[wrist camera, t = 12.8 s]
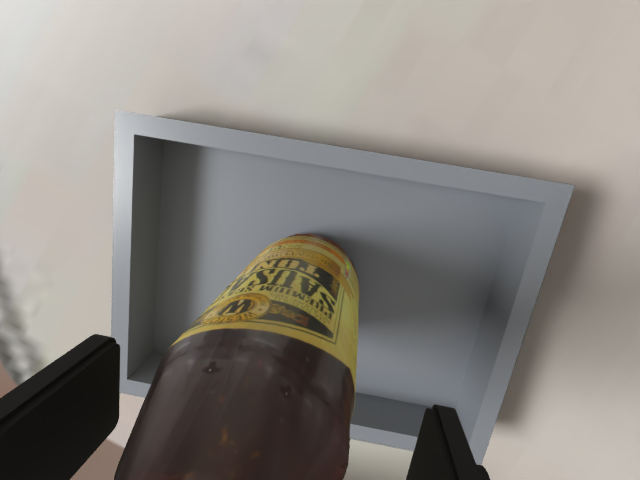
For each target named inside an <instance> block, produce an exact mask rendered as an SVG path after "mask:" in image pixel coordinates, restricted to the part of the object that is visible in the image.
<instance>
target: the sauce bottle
mask: <svg viewBox="0 0 640 480" xmlns="http://www.w3.org/2000/svg"><path fill="white" fill-rule="evenodd" d="M358 308H359V283H358V278H357V272H356V270H355V267H354V264H353V262H352V260H351V259H350V258H349V256H348V255H347V253H346V252H345V251H344V250H343V249H342V248H341V247H340V246H339V245H338V244H337V243H336V242H334V241H332V240H329V239H327V238H324V237H321V236H318V235H313V234H310V233H309V234H294V235H291V236H288V237H286V238H283V239H280V240H278V241H276V242H274V243H272V244H270V245H269V246H268V247H266V248H265V249H264V250H263V251H262V252H261V253H260V254H259V255H258V256H257V257H256V258H255V259H254V260H253V261H252V262H251V263H250V264H249V265H248V266H247V268H246V269H245V270H244V271H243V272H242V273H241V274H240V275H239V276H238V277H237V278H236V279H235V280H234V281H233V282H232V283H231V284H230V285H229V286H227V288H226V289H225V291H223V292H222V293H221V294H220V295H219V297H218V298H217V299H216V300H215V301H214V302H213V303H212V304H211V305H210V306H209V307H208V308H207V309H206V310H205V311H204V312H203V313H202V314H201V315H200V316H199V318H198V319H197V320H196V321H195V322H194V323H193V324H192V325H191V326H190V327H189V328H188V329H187V330H185V332H184V333H183V334H182V335H181V336H180V337H179V338H178V339H177V340H176V341H175V342H174V343H173V344H172V345H171V346H170V348H169V349H168V350H167V351H166V352H165V353H164V355H163V356H162V359H161V361H160V364H159V366H158V368H157V371H156V373H155V376H154V378H153V381H152V383H151V385H150V388H149V390H148V393H147V395H146V398H145V400H144V403H143V405H142V407H141V410H140V412H139V415H138V417H137V420H136V422H135V425H134V427H133V429H132V432H131V434H130V437H129V439H128V442H127V444H126V447H125V449H124V452H123V454H122V457H121V459H120V461H119V464H118V467H117V470H116V473H115V477H114V480H343V478H344V476H345V473H346V469H347V466H348V457H349V448H350V445H349V441H350V421H351V418H352V415H353V411H354V406H355V389H356V367H357V348H358Z"/></svg>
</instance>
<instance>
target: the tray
mask: <svg viewBox="0 0 640 480" xmlns="http://www.w3.org/2000/svg"><path fill="white" fill-rule="evenodd" d="M574 186H575V185H570V184H564V183H558V182H552V181H546V180H540V179H534V178H528V177H521V176H515V175H509V174H503V173H497V172H491V171H485V170H479V169H473V168H467V167H461V166H454V165H448V164H442V163H436V162H430V161H424V160H418V159H412V158H406V157H400V156H394V155H387V154H381V153H375V152H369V151H363V150H357V149H351V148H345V147H339V146H333V145H327V144H320V143H314V142H308V141H302V140H296V139H290V138H284V137H278V136H272V135H266V134H260V133H253V132H247V131H241V130H235V129H229V128H223V127H217V126H211V125H205V124H199V123H193V122H186V121H180V120H174V119H168V118H162V117H156V116H150V115H144V114H138V113H132V112H126V111H119V110H115V133H114V195H113V257H112V319H111V337H112V338H114V339H115V340H116V343H117V344H119V345H120V391H119V393H124V394H129V395H134V396H139V397H144V398H146V395H147V393H148V390H149V388H150V385H151V383H152V381H153V378H154V376H155V373H156V371H157V368H158V366H159V364H160V361H161V359H162V356H163V355H164V353H165V352H166V351H167V350H168V349H169V348H170V346H171V345H172V344H173V343H174V342H175V341H176V340H177V339H178V338H179V337H180V336H181V335H182V334H183V333H184V332H185V330H187V329H188V328H189V327H190V326H191V325H192V324H193V323H194V322H195V321H196V320H197V319H198V318H199V316H200V315H201V314H202V313H203V312H204V311H205V310H206V309H207V308H208V307H209V306H210V305H211V304H212V303H213V302H214V301H215V300H216V299H217V298H218V297H219V295H220V294H221V293H222V292H223V291H225V289H226V288H227V286H229V285H230V284H231V283H232V282H233V281H234V280H235V279H236V278H237V277H238V276H239V275H240V274H241V273H242V272H243V271H244V270H245V269H246V268H247V266H248V265H249V264H250V263H251V262H252V261H253V260H254V259H255V258H256V257H257V256H258V255H259V254H260V253H261V252H262V251H263V250H264V249H265V248H266V247H268V246H269V245H270V244H272V243H274V242H276V241H278V240H280V239H283V238H286V237H288V236H291V235H294V234H309V233H310V234H313V235H318V236H321V237H324V238H327V239H329V240H332V241H334V242H336V243H337V244H338V245H339V246H340V247H341V248H342V249H343V250H344V251H345V252H346V253H347V255H348V256H349V258H350V259H351V260H352V262H353V264H354V267H355V270H356V272H357V278H358V283H359V308H358V348H357V367H356V389H355V406H354V411H353V415H352V418H351V421H350V439H354V440H359V441H364V442H369V443H374V444H379V445H384V446H389V447H394V448H399V449H404V450H409V451H414V449H415V446H416V442H417V438H418V435H419V431H420V427H421V424H422V420H423V417H424V413H425V410H426V408H430V409H432V407H433V405H434V404H436V405H441V406H446V407H451V408H454V409H455V410H456V412H457V414H458V417H459V420H460V422H461V425H462V428H463V430H464V433H465V436H466V438H467V441H468V444H469V446H470V449H471V452H472V454H473V457H474V460H475V463H476V464H479V465H481V464H482V461H483V458H484V455H485V452H486V449H487V446H488V443H489V440H490V437H491V434H492V431H493V428H494V425H495V422H496V419H497V416H498V413H499V410H500V407H501V404H502V401H503V398H504V395H505V392H506V389H507V386H508V383H509V380H510V377H511V374H512V371H513V368H514V365H515V362H516V359H517V356H518V353H519V350H520V347H521V344H522V341H523V338H524V335H525V332H526V329H527V326H528V324H529V321H530V318H531V315H532V312H533V309H534V306H535V303H536V300H537V297H538V294H539V291H540V288H541V285H542V282H543V279H544V276H545V273H546V270H547V267H548V264H549V261H550V258H551V255H552V252H553V249H554V246H555V243H556V240H557V237H558V234H559V231H560V228H561V225H562V222H563V219H564V216H565V213H566V210H567V207H568V204H569V201H570V198H571V195H572V192H573V189H574Z"/></svg>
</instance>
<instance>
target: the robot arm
mask: <svg viewBox="0 0 640 480" xmlns="http://www.w3.org/2000/svg"><path fill="white" fill-rule="evenodd" d="M119 391H120V345H119V344H117V343H116V340H115V339H114V338H112V337H107V336H103V335H98V334H94V335H92V336H90V337H89V338H87V339H86V340H84V341H83V342H82V343H80V344H79V345H77V346H76V347H74V348H73V349H71V350H70V351H68V352H67V353H66V354H64V355H63V356H61V357H60V358H58V359H57V360H55V361H54V362H52V363H51V364H50V365H48V366H47V367H45V368H44V369H42V370H41V371H39V372H38V373H36V374H35V375H34V376H32V377H31V378H29V379H28V380H26V381H25V382H23V383H22V384H20V385H19V386H18V387H16V388H15V389H13V390H12V391H10V392H9V393H7V394H6V395H4V396H3V397H2V398H0V480H70V479H71V477H72V476H73V475H74V474H75V473H76V472H77V471H78V469H79V468H80V467H81V466H82V465H83V464H84V463H85V462H86V460H87V459H88V458H89V457H90V456H91V455H92V454H93V453H94V451H95V450H96V449H97V448H98V447H99V446H100V444H102V442H103V441H104V440H105V439H106V438H107V437H108V436H109V434H110V433H111V432H112V431H113V430H114V428H115V427H116V425H117V422H118V419H119ZM406 480H490V478H489V475H488V473H487V471H486V469H485V468H484V467H483V466H482V465H477V464H476V463H475V460H474V457H473V454H472V452H471V449H470V446H469V444H468V441H467V438H466V436H465V433H464V430H463V428H462V425H461V422H460V420H459V417H458V414H457V412H456V410H455V409H454V408H451V407H446V406H441V405H436V404H434V405H433V407H432V409H430V408H426V410H425V413H424V417H423V420H422V424H421V427H420V431H419V435H418V438H417V442H416V446H415V449H414V453H413V457H412V460H411V464H410V467H409V471H408V475H407V478H406Z"/></svg>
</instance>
